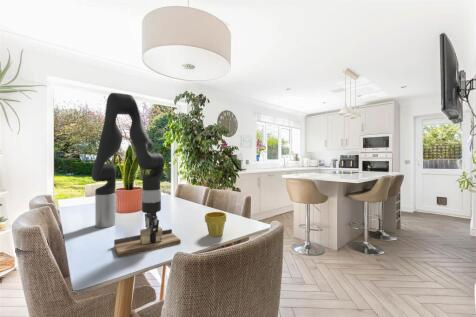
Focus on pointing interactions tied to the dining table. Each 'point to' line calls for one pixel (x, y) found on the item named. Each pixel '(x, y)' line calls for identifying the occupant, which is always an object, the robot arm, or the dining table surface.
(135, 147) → the robot arm
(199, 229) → the dining table surface
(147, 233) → the beige block
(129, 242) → the walnut board
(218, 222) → the plant pot
